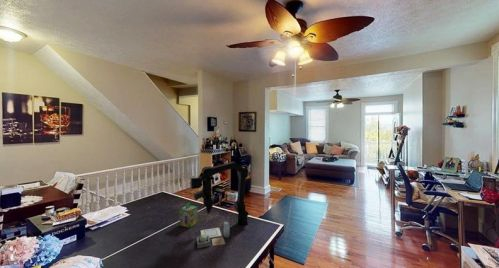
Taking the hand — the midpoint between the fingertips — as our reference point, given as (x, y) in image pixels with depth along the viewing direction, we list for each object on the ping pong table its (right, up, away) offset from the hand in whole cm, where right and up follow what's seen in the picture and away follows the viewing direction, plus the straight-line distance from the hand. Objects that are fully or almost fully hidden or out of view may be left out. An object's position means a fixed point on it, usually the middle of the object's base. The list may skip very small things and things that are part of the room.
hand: (207, 210), depth 131 cm
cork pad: (+9, -14, -12) cm, 20 cm away
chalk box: (-15, -13, +10) cm, 22 cm away
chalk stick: (+13, -14, -6) cm, 20 cm away
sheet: (+3, -14, -3) cm, 14 cm away
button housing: (0, -14, -14) cm, 20 cm away
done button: (0, -13, -14) cm, 19 cm away
